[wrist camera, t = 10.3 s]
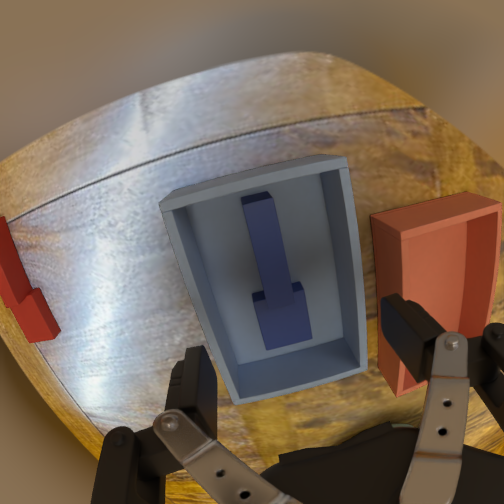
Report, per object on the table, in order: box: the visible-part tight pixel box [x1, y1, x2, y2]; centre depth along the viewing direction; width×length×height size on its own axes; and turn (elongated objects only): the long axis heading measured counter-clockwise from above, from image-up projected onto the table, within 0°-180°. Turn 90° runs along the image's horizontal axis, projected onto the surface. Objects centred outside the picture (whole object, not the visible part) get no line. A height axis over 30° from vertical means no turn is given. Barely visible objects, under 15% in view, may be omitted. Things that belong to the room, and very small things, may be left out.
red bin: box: [370, 192, 502, 398], centre depth 21 cm, size 15×10×4 cm
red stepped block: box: [0, 216, 61, 343], centre depth 19 cm, size 11×4×3 cm, turn 14°
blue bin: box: [159, 154, 367, 405], centre depth 20 cm, size 15×10×4 cm
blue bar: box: [241, 191, 313, 351], centre depth 20 cm, size 11×4×3 cm, turn 13°
